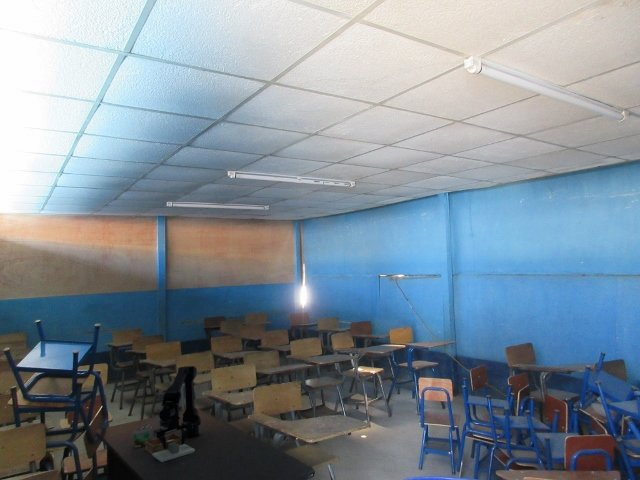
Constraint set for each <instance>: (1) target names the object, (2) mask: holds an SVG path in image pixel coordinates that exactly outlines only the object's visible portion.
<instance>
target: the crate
mask: <svg viewBox="0 0 640 480" xmlns="http://www.w3.org/2000/svg"><path fill="white" fill-rule="evenodd" d="M164 436H165V437H166V449H169V447H168V444H169V443H173V442H175V443H177V444H178V445H179V446H180V445H182V442H181V438H182V435H181V436H180V435H179V434H178V433H171V434H168V435H167V434H166V435H164ZM168 440H172V441H168ZM167 441H168V442H167ZM144 449H145V451H146V452H147V453H149V454H150V455H151V456H153V453H156V452H159V451H163V450H164V448H163V446H162V443H161V441H160V439H158V438H156V437H155V438H153V439H150V440H148V441H145V446H144ZM166 449H165V450H166Z"/></svg>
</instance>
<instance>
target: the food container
mask: <svg viewBox="0 0 640 480" xmlns="http://www.w3.org/2000/svg"><path fill="white" fill-rule="evenodd" d="M152 429H153V427H152V425H151V423H149V422H148V423H147V422H146V423H145V425H144V426H140V427H139V428H138V429H133V431H132V435H133V441H134V448H135V449H136V448H137V449H138V448H143V447H144V448H145V441H148V440H151V433H152V431H151V430H152Z"/></svg>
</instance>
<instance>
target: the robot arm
mask: <svg viewBox="0 0 640 480" xmlns="http://www.w3.org/2000/svg"><path fill="white" fill-rule="evenodd" d="M197 373H198V369H197V368H196V366H195V365H188V366H180V367H178V368H177V373H176V375H175V378H174V380H173V382H172V384H171V386H168V388H167V389H166V391H165V393H164V395H163V398H162V404H161V406H162V409H161V411H160V412H159V414H158V416H159V419H160V420H159V427H160V428H157V429H154V430H153V432H152V436H153V437H154V438H155V439H156V438H158V439H160V441H161V443H162V446H163V448H164V450H165V449H166V437H165V436H166V434H169V433H173V432H176V431H179V430H180V432H181V437H182V438H181V442H182V445H183V444H185V441H186V438H188V439H193V438H197V437H199V436H200V432H199V430H200V429H199V428H200V427H199V426H201V425H202V424H201V423H202V419H201V418H200V414H199V411H198V409H197V407H195V405H196V404H195V385H194V381H195V380H196V377H197ZM183 384H184V390H185V391H184V392H185V410H184V412H183V413H182V422H181V424H180V420H181V417H180V406H179V405H180V401H181V400H182V392H181V389H182V387H183ZM162 427H163V428H162Z"/></svg>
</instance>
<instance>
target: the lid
mask: <svg viewBox="0 0 640 480" xmlns="http://www.w3.org/2000/svg"><path fill="white" fill-rule="evenodd" d="M168 447H169V449H166V450H163V451H159V452H156V453H153V455H152V457H153V458H154V459H156V460H158V461H159V462H161V463H163V462H167V461H170V460H173V459H177V458H180V457H183V456H186V455H190V454H194V453H196V452H195V451H196V449H195V448H193V447H191V446H189V445H188V444H185V443H184V444H183V445H180V446H179V445H178V444H177V443H175V442H173V443H169V444H168Z"/></svg>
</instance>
